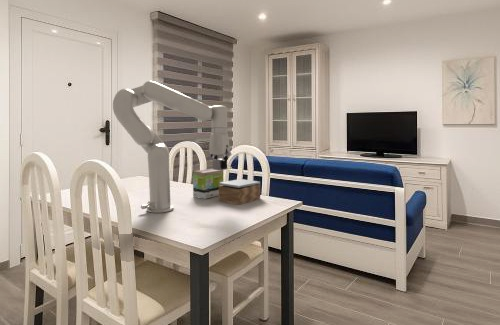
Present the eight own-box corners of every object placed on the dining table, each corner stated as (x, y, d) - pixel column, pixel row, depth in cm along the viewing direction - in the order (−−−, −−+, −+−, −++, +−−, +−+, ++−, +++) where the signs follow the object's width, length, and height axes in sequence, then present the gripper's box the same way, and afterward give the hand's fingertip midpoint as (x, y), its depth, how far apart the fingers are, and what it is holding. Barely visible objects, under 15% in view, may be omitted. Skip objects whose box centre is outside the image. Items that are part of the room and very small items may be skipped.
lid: (238, 187, 176) (238, 185, 176) (218, 184, 184) (218, 182, 184) (260, 183, 190) (260, 181, 189) (240, 180, 198) (240, 179, 198)
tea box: (205, 199, 189) (205, 172, 187) (192, 197, 195) (192, 170, 193) (224, 194, 201) (223, 169, 199) (211, 192, 207) (211, 167, 205)
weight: (220, 170, 168) (220, 160, 167) (212, 169, 171) (212, 159, 170) (227, 169, 172) (227, 159, 171) (220, 168, 175) (219, 158, 174)
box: (238, 204, 177) (238, 189, 176) (218, 200, 186) (218, 186, 185) (260, 198, 191) (260, 184, 190) (240, 194, 199) (240, 181, 198)
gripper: (201, 131, 171) (202, 167, 174) (226, 131, 161) (227, 170, 163) (212, 130, 177) (213, 166, 180) (237, 131, 166) (238, 168, 169)
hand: (220, 167), depth 171 cm, fingers closed on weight, 5 cm apart
